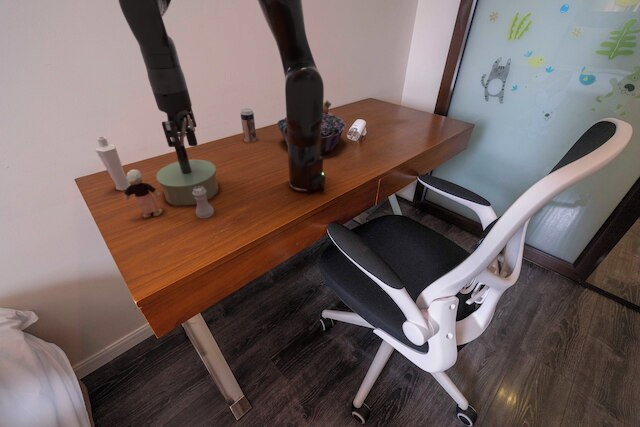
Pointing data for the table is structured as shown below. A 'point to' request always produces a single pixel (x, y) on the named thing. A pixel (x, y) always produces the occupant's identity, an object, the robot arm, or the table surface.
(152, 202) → the grandmother figurine
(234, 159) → the table surface
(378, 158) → the table surface
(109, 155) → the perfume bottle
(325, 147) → the decorative bowl
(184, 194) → the pot
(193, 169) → the pot lid
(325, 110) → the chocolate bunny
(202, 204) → the rook chess piece
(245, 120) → the beer can
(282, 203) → the table surface
